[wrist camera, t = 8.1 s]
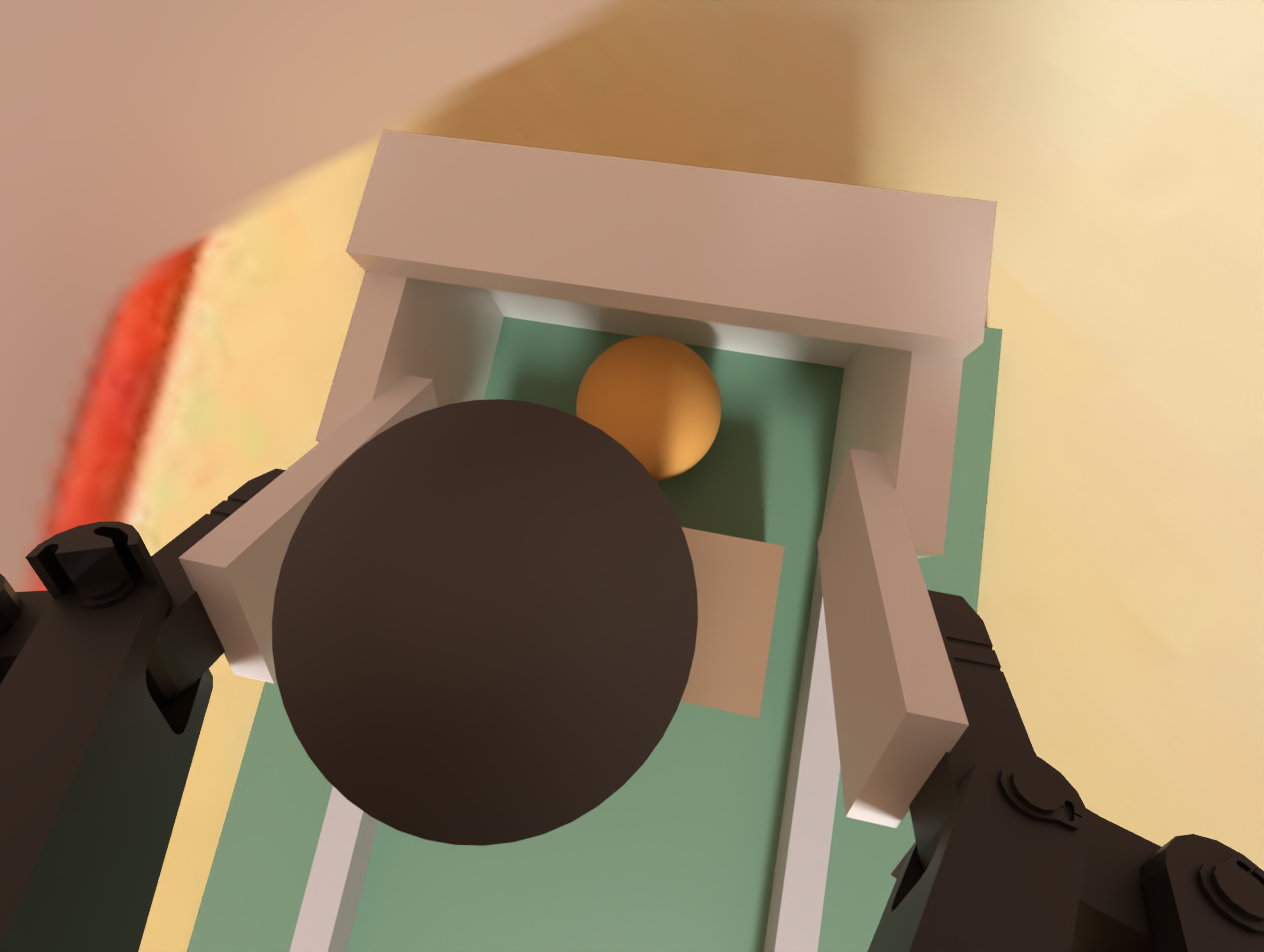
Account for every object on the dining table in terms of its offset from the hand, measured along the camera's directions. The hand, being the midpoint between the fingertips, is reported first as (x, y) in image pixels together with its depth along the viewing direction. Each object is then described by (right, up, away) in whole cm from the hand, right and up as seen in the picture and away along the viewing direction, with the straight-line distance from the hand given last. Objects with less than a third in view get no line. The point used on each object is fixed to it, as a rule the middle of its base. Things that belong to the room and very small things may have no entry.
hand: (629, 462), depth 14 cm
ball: (+1, +1, +2) cm, 3 cm away
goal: (+1, +1, +4) cm, 4 cm away
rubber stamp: (0, -4, +4) cm, 6 cm away
